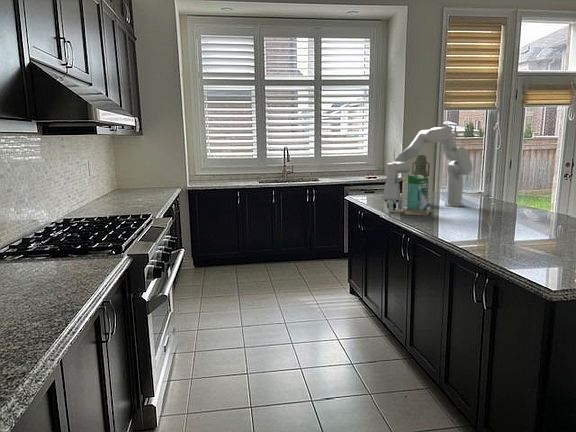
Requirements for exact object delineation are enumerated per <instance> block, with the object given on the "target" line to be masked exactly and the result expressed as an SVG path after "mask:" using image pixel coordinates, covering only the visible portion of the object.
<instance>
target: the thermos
mask: <svg viewBox="0 0 576 432" xmlns="http://www.w3.org/2000/svg"><path fill="white" fill-rule="evenodd" d="M414 165H415V167H414ZM411 166H412V167H411V171H412V172H411V175H414V174H419V175H422V176H424V177H426V178H428V177H429V176H430V163H429V162H428V161H427V156H426V155H423V154H421V155H420V154H419V155H417V156H415V161H414V162H413V163H412V164H411ZM414 168H415V169H414Z"/></svg>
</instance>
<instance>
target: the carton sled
mask: <svg viewBox="0 0 576 432" xmlns="http://www.w3.org/2000/svg"><path fill="white" fill-rule="evenodd" d="M405 207H406V208H405V209H398V208H396V209H395V210H394V199H390V200H389V206H388V208H387V210H388V211H387V212H388V213H398V214H399V213H403V215H409V216H411V215H413V216H428V215H429V214H430V213H431V206H428V208H427V210H426V211H425V210H407V206H405Z"/></svg>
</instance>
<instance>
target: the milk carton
mask: <svg viewBox="0 0 576 432" xmlns="http://www.w3.org/2000/svg"><path fill="white" fill-rule="evenodd" d="M407 177H408V178H407V202H406V203H407V204H406V207H407V210H425V211H426V210H427V208H428V207H429V205H428V204H429V178H428V177H427V178H426V177H424V176H422V175H419V174H413V175H412V174H408V176H407Z"/></svg>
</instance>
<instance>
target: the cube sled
mask: <svg viewBox="0 0 576 432" xmlns="http://www.w3.org/2000/svg"><path fill="white" fill-rule="evenodd" d="M401 198H402V200H400V201H398V202H397V210H404V209H405V208H406V207H407V206H403V201H404V200H403V196H401ZM398 199H399V198H398ZM398 199H397V200H398Z"/></svg>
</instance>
